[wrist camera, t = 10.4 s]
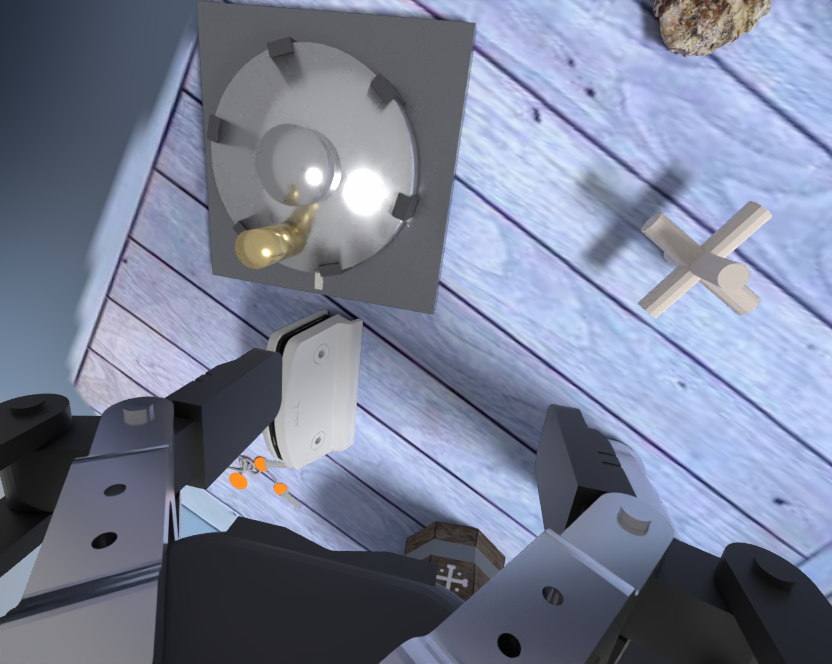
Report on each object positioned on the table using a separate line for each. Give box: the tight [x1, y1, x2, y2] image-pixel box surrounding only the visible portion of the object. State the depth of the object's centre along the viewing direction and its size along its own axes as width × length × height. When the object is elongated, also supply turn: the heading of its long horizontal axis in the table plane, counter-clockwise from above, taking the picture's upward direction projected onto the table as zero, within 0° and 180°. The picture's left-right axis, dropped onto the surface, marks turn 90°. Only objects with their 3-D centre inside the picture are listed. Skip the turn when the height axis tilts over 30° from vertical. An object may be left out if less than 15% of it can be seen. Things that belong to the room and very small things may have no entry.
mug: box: [405, 521, 505, 602], centre depth 46 cm, size 20×14×15 cm
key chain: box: [228, 455, 301, 508], centre depth 55 cm, size 13×7×1 cm, turn 77°
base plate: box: [197, 1, 477, 314], centre depth 39 cm, size 24×24×2 cm
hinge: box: [263, 310, 363, 469], centre depth 44 cm, size 17×5×10 cm, turn 173°
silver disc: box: [206, 37, 419, 277], centre depth 34 cm, size 18×19×9 cm
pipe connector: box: [638, 201, 772, 319], centre depth 31 cm, size 10×10×10 cm
